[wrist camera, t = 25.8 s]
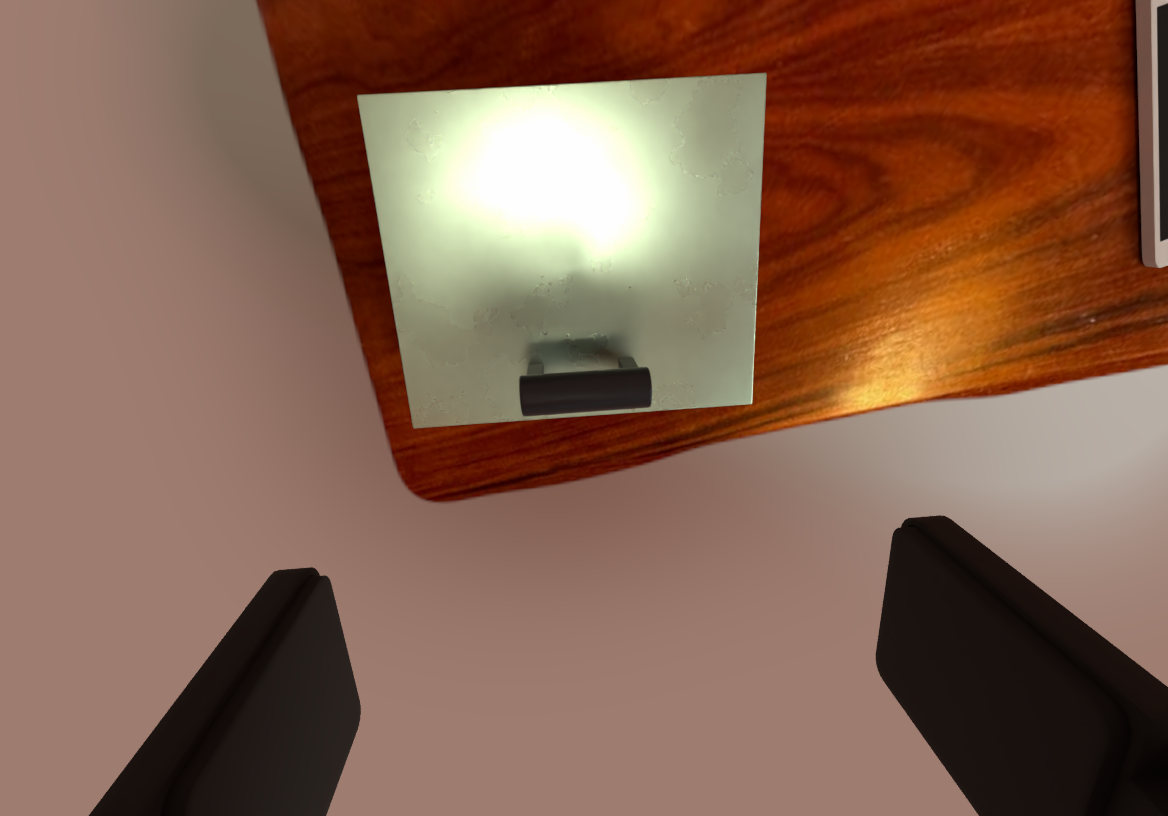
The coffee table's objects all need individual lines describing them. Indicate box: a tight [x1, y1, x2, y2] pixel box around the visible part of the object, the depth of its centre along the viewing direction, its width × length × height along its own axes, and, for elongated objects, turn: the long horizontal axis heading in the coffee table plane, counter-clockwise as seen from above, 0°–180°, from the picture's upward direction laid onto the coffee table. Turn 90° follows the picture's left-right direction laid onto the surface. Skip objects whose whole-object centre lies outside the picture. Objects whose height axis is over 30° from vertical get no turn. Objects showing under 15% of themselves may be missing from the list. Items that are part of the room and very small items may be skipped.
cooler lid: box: [357, 73, 767, 428], centre depth 22 cm, size 14×16×5 cm
